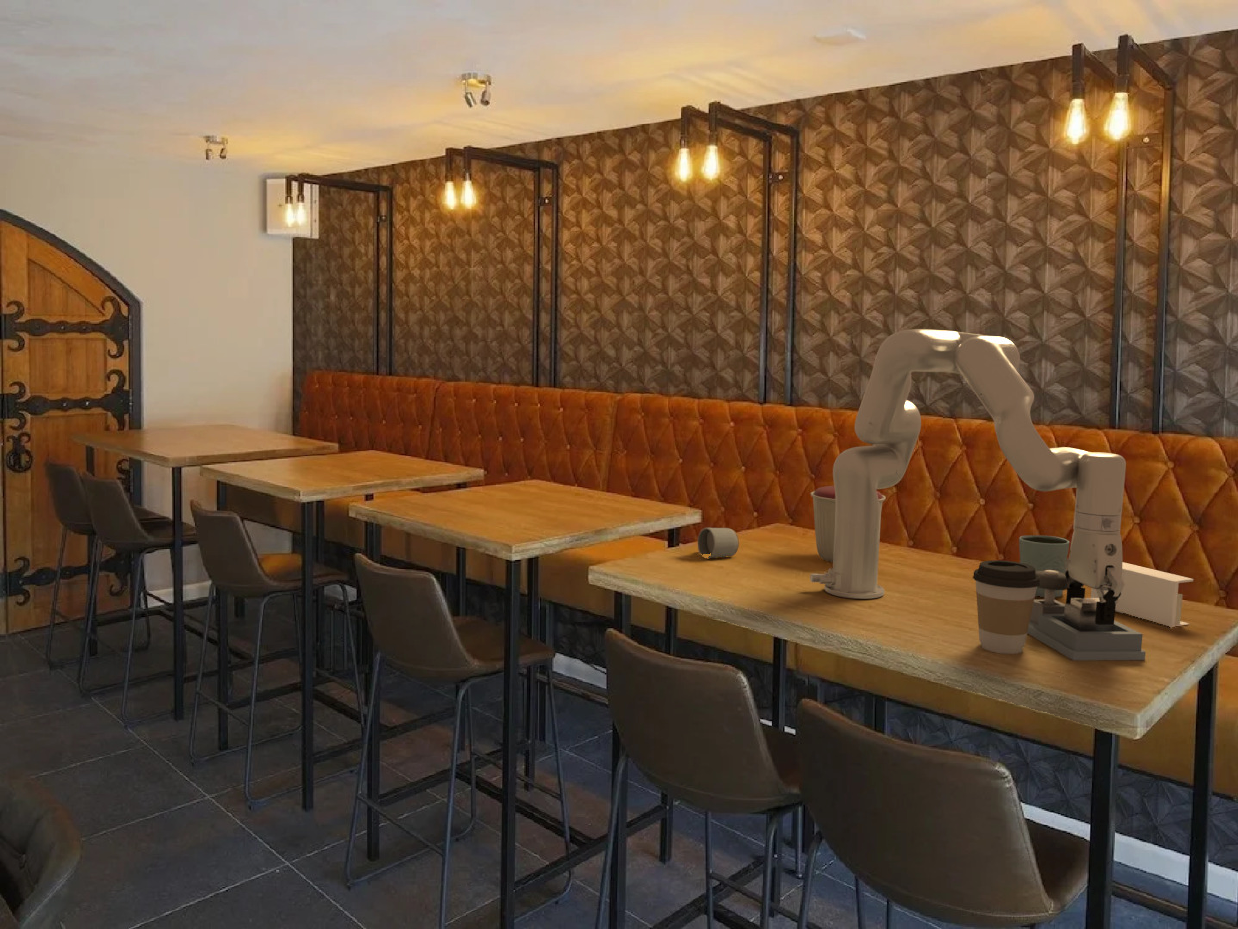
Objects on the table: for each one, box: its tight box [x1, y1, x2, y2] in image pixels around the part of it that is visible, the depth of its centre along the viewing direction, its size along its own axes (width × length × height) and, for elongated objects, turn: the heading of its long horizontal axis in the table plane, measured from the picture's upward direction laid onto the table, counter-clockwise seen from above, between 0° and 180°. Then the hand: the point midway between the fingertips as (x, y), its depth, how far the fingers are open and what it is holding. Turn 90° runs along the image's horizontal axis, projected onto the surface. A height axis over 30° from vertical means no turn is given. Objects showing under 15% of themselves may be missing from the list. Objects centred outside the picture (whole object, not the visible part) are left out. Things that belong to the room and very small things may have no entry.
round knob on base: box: [1036, 570, 1069, 605], centre depth 191 cm, size 6×6×7 cm
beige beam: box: [1090, 561, 1194, 628], centre depth 205 cm, size 20×6×9 cm, turn 25°
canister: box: [810, 485, 886, 563], centre depth 249 cm, size 18×18×21 cm
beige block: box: [1064, 597, 1114, 632], centre depth 181 cm, size 5×6×7 cm
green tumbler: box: [1018, 534, 1070, 598], centre depth 221 cm, size 10×10×12 cm
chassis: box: [1027, 599, 1146, 661], centre depth 185 cm, size 13×22×6 cm, turn 5°
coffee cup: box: [971, 559, 1041, 655], centre depth 179 cm, size 11×11×15 cm
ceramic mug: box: [697, 527, 740, 559], centre depth 252 cm, size 11×8×8 cm
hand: (1089, 616), depth 181 cm, fingers open, 9 cm apart
